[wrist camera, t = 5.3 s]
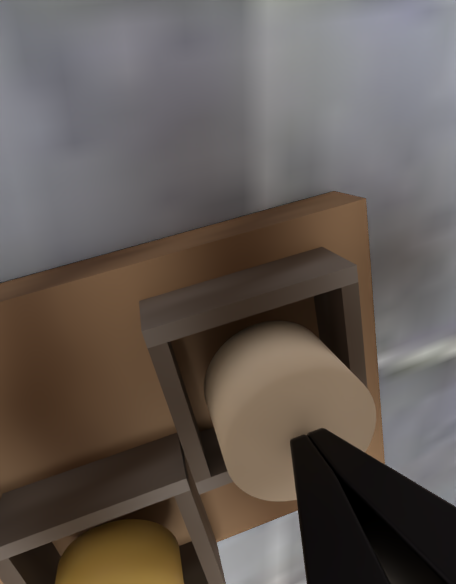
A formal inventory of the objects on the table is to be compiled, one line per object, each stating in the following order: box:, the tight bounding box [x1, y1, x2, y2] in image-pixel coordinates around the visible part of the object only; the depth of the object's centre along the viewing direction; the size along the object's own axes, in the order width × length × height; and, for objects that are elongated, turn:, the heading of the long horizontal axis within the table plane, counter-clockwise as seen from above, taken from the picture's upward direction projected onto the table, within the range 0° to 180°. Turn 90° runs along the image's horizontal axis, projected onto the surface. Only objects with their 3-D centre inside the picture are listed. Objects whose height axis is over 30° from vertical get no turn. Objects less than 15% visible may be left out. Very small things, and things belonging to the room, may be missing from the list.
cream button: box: [204, 321, 376, 501], centre depth 10 cm, size 4×4×2 cm
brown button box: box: [0, 191, 385, 584], centre depth 13 cm, size 21×12×4 cm, turn 103°
